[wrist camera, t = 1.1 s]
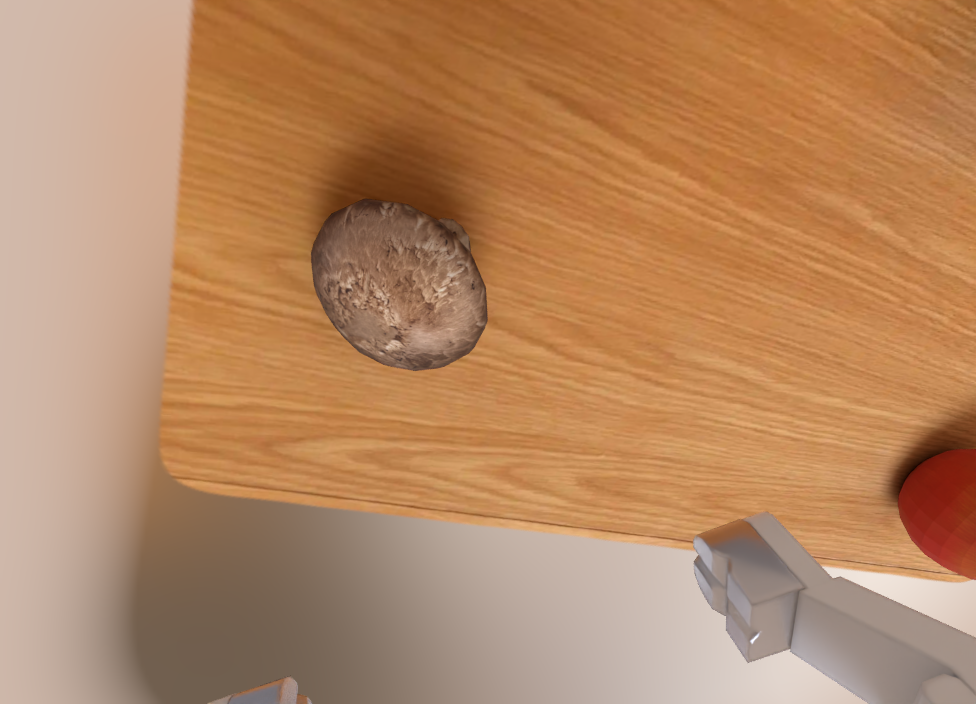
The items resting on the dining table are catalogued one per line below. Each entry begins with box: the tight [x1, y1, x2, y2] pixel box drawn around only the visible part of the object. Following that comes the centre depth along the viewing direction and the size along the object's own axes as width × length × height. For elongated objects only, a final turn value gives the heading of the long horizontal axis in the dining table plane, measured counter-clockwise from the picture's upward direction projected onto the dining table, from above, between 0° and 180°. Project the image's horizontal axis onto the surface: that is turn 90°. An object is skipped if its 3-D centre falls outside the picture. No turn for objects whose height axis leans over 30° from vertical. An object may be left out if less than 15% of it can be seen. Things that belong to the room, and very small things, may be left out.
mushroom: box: [311, 199, 487, 371], centre depth 23 cm, size 8×8×6 cm
